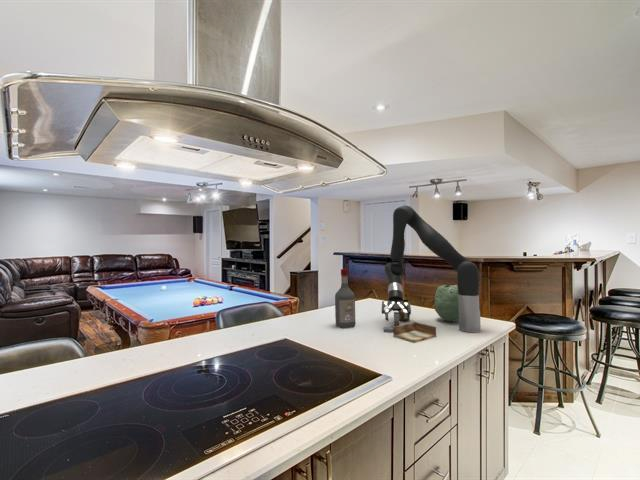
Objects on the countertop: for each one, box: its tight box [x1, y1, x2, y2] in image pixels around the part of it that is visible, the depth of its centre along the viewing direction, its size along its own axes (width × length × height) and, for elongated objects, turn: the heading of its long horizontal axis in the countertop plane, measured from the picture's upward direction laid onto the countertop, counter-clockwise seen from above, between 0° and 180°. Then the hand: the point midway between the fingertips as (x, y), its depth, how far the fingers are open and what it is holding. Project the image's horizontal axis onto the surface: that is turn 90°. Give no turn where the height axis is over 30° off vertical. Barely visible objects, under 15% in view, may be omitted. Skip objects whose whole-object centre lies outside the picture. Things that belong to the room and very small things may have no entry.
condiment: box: [397, 297, 415, 323], centre depth 180 cm, size 7×8×12 cm
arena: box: [392, 330, 437, 344], centre depth 148 cm, size 15×12×1 cm
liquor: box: [334, 268, 356, 329], centre depth 171 cm, size 9×9×30 cm
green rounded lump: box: [433, 284, 459, 322], centre depth 177 cm, size 16×19×20 cm
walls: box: [392, 321, 437, 336], centre depth 148 cm, size 15×12×4 cm
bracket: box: [383, 311, 400, 334], centre depth 158 cm, size 8×4×9 cm, turn 78°
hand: (396, 320), depth 158 cm, fingers open, 8 cm apart
